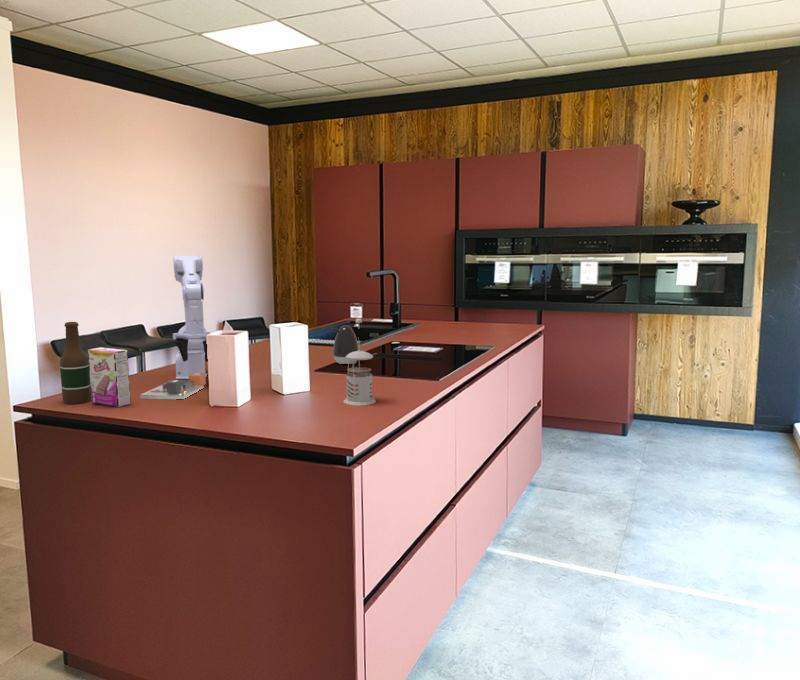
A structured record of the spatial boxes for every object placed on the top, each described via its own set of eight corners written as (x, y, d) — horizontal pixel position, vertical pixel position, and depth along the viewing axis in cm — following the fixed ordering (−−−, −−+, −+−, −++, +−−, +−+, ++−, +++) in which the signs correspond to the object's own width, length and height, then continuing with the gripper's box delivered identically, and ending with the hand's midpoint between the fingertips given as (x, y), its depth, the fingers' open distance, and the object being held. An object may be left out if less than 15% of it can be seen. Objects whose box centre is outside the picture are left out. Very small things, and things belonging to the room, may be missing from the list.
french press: (351, 406, 189) (349, 321, 185) (336, 398, 199) (334, 317, 195) (381, 403, 193) (381, 319, 190) (365, 395, 203) (364, 315, 200)
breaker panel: (140, 398, 199) (139, 389, 199) (163, 387, 214) (162, 379, 214) (183, 399, 198) (183, 391, 197) (204, 388, 213) (203, 380, 212)
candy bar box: (90, 404, 193) (86, 349, 190) (104, 400, 197) (100, 346, 195) (118, 408, 188) (114, 351, 186) (131, 404, 193) (128, 349, 190)
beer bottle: (97, 399, 198) (91, 321, 195) (77, 405, 191) (71, 324, 188) (77, 397, 201) (71, 320, 197) (56, 403, 194) (50, 323, 190)
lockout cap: (189, 387, 215) (188, 374, 215) (194, 384, 219) (193, 372, 219) (200, 387, 215) (200, 374, 214) (205, 385, 219) (205, 372, 218)
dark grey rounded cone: (332, 361, 261) (331, 324, 259) (358, 361, 262) (358, 323, 260) (332, 366, 251) (332, 327, 249) (359, 365, 252) (359, 326, 250)
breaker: (167, 392, 201) (166, 381, 201) (172, 390, 205) (171, 379, 204) (176, 392, 201) (175, 382, 200) (181, 390, 204) (180, 379, 204)
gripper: (167, 321, 211) (169, 362, 213) (210, 322, 209) (212, 363, 211) (177, 319, 218) (179, 359, 220) (219, 319, 216) (221, 359, 218)
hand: (196, 361), depth 216 cm, fingers open, 7 cm apart
